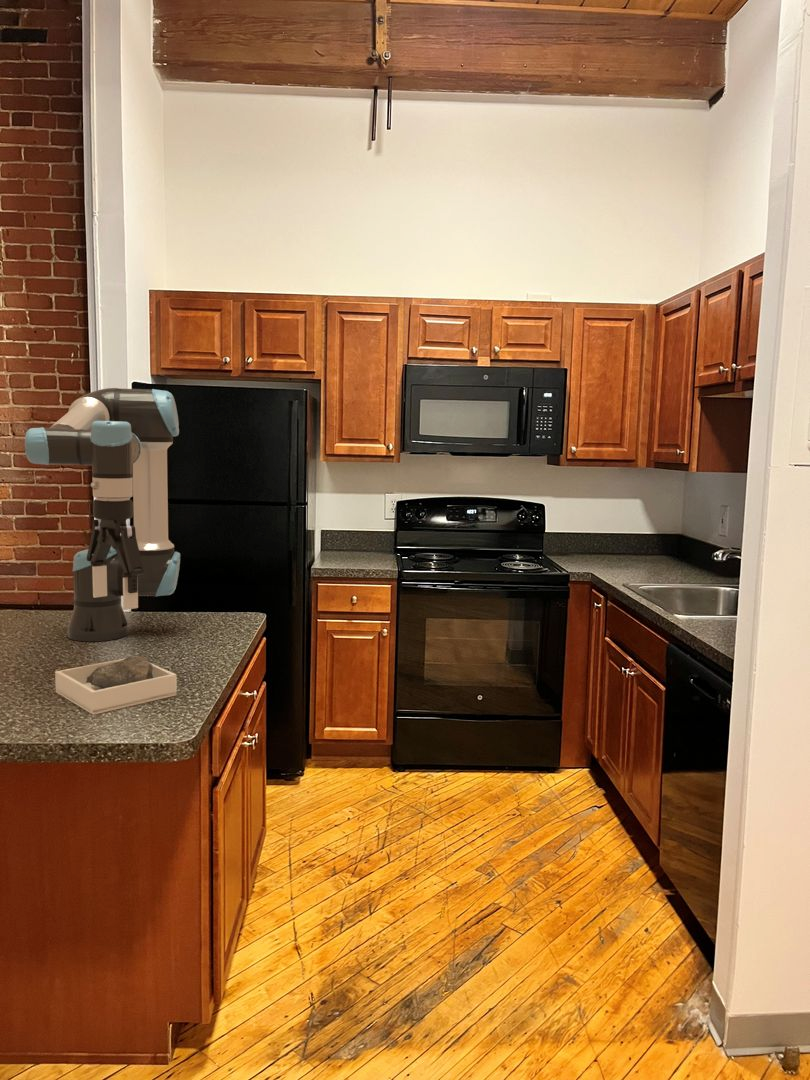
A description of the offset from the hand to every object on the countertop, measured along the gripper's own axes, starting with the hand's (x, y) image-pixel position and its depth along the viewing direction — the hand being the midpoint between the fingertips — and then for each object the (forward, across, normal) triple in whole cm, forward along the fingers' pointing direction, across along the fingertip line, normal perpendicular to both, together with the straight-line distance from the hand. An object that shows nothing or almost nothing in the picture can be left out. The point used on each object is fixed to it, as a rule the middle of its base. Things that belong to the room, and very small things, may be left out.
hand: (115, 602), depth 158 cm
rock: (+19, 0, +1) cm, 19 cm away
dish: (+19, +1, 0) cm, 19 cm away
